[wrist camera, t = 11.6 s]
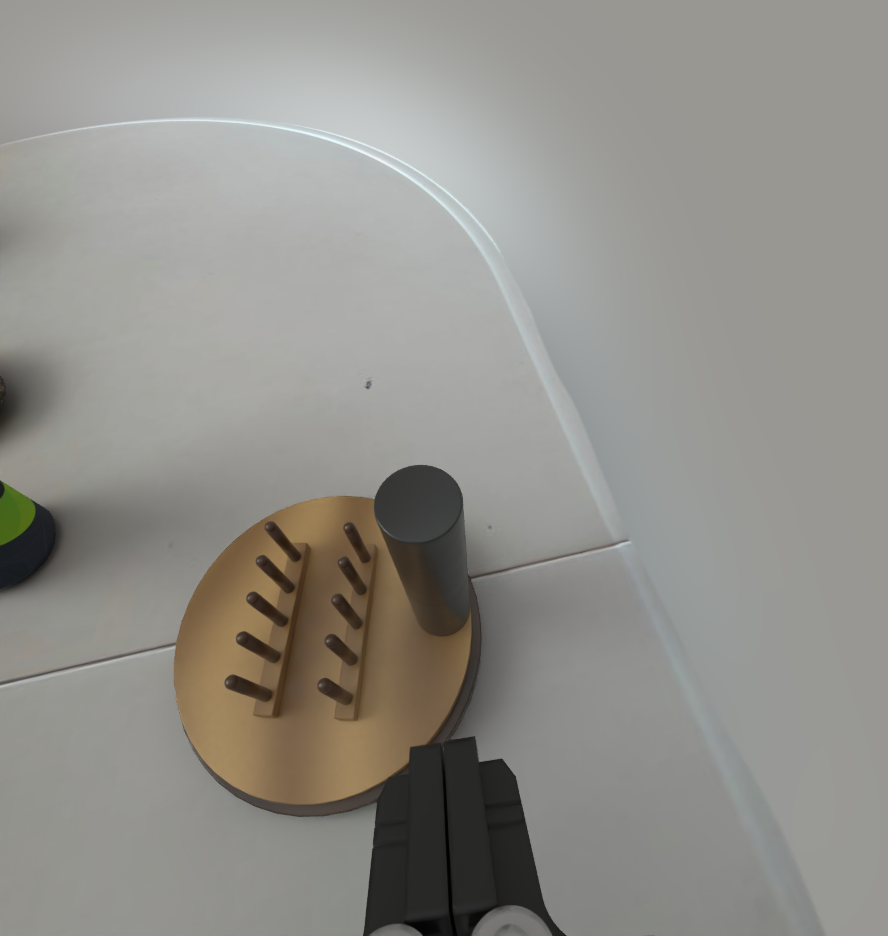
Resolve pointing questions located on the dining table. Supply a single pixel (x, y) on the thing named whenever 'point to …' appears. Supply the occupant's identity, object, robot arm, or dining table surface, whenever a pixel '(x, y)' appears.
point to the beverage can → (22, 536)
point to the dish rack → (329, 641)
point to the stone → (2, 389)
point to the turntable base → (374, 793)
